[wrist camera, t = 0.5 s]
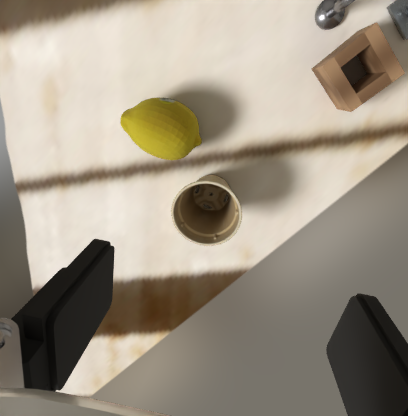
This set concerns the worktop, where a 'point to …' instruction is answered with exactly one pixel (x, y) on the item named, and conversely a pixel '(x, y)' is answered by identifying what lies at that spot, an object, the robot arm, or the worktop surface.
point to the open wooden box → (371, 61)
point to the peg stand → (400, 16)
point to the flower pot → (206, 212)
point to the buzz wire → (330, 13)
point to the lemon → (162, 128)
